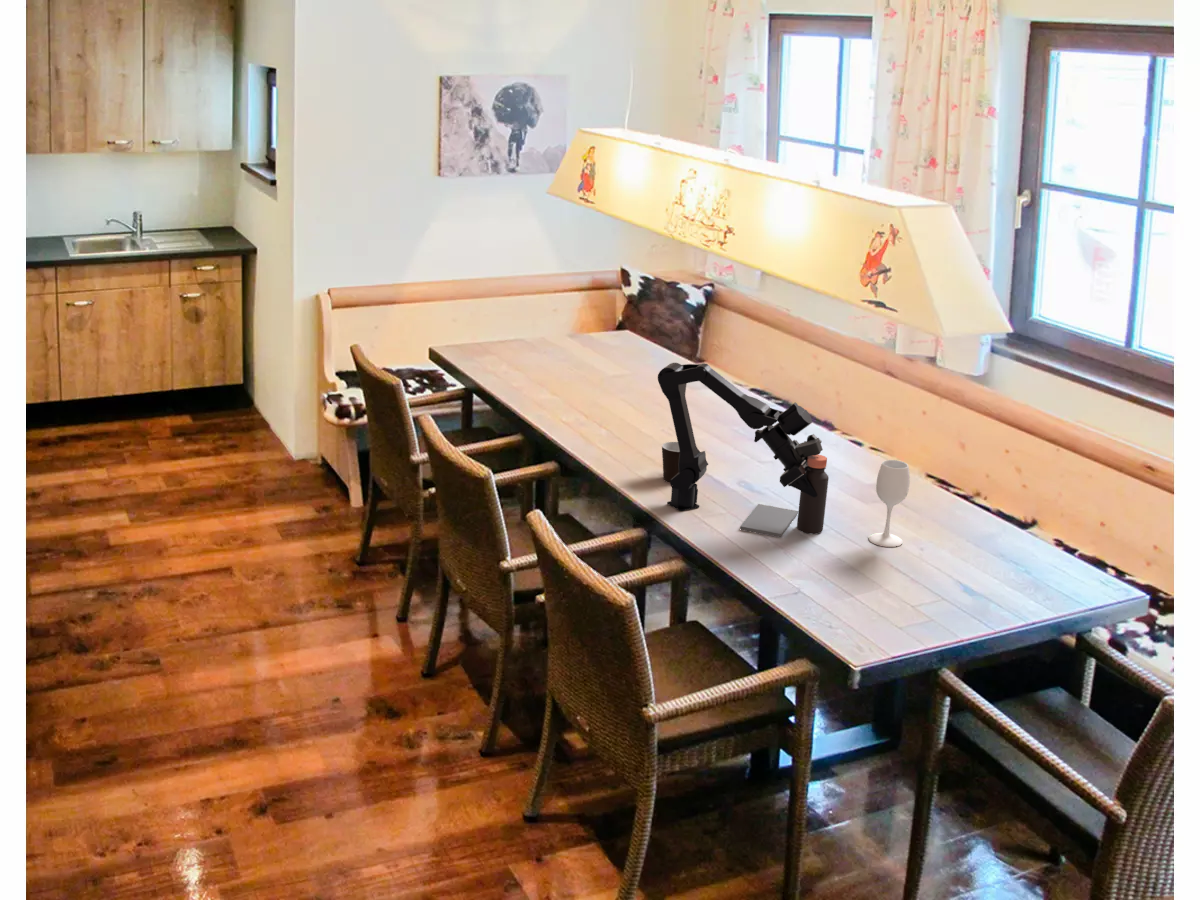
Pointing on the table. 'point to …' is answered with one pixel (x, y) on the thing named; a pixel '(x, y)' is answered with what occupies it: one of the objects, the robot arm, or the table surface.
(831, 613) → the table surface
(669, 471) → the coffee mug
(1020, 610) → the table surface
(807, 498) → the vinegar
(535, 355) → the table surface
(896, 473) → the wineglass
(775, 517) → the gray board
